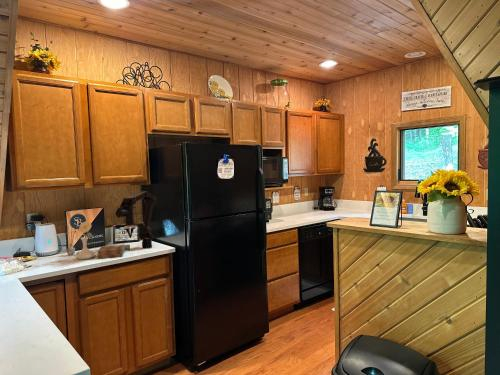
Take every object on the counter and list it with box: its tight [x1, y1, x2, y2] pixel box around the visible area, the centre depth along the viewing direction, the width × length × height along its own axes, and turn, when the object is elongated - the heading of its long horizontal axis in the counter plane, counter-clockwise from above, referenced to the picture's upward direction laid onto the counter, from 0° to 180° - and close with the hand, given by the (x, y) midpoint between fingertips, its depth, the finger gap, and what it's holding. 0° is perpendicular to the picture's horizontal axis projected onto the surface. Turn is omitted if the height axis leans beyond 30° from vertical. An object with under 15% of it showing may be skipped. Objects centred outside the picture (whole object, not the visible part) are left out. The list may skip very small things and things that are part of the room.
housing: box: [97, 244, 123, 260], centre depth 234 cm, size 14×14×5 cm
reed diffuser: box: [62, 226, 80, 256], centre depth 239 cm, size 10×7×20 cm
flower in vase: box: [75, 220, 96, 260], centre depth 227 cm, size 13×11×25 cm
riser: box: [125, 244, 131, 252], centre depth 249 cm, size 4×4×4 cm
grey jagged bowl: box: [120, 243, 126, 257], centre depth 234 cm, size 14×14×6 cm
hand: (130, 237), depth 237 cm, fingers closed
